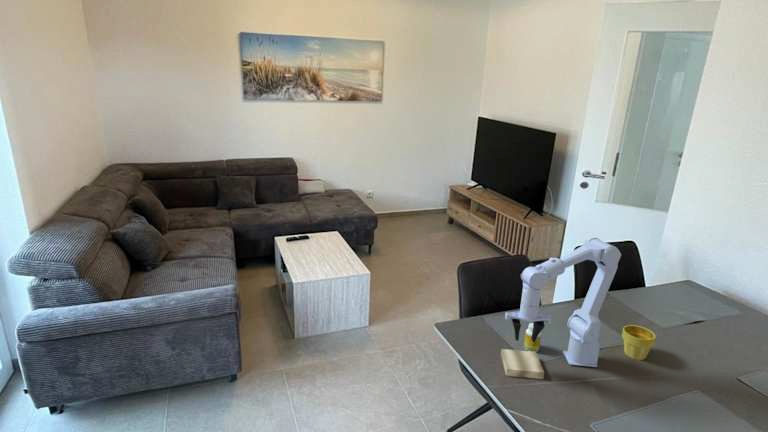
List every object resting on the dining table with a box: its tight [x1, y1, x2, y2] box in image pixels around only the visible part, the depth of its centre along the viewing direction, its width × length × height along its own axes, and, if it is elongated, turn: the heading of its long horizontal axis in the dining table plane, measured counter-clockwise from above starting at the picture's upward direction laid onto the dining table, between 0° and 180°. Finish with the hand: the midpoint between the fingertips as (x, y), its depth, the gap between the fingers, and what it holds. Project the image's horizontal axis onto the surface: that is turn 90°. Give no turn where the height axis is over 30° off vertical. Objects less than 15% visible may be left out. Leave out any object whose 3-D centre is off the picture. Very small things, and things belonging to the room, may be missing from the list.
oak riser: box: [500, 348, 545, 380], centre depth 152 cm, size 12×12×3 cm
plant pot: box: [621, 324, 657, 361], centre depth 160 cm, size 10×10×10 cm
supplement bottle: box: [523, 322, 542, 353], centre depth 162 cm, size 5×5×10 cm
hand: (524, 339), depth 150 cm, fingers open, 5 cm apart
